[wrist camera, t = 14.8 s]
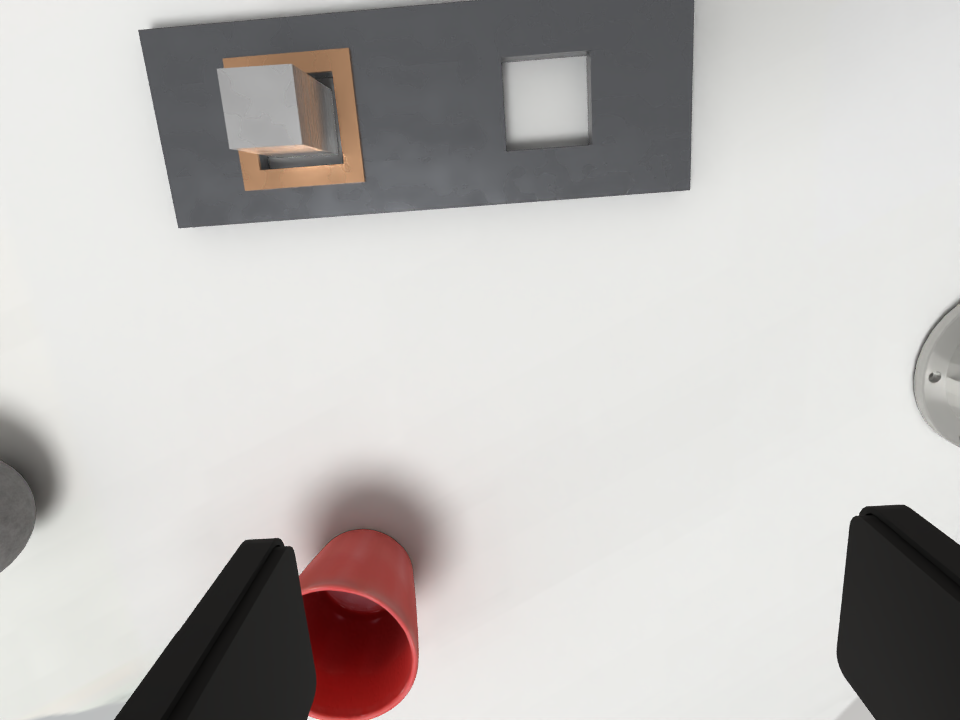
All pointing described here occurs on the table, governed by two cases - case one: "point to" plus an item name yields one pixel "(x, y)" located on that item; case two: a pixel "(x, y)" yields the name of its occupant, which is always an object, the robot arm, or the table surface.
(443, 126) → the grey board with holes
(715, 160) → the table surface
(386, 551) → the flower pot
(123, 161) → the table surface
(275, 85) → the steel rectangular block
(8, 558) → the decorative ball
